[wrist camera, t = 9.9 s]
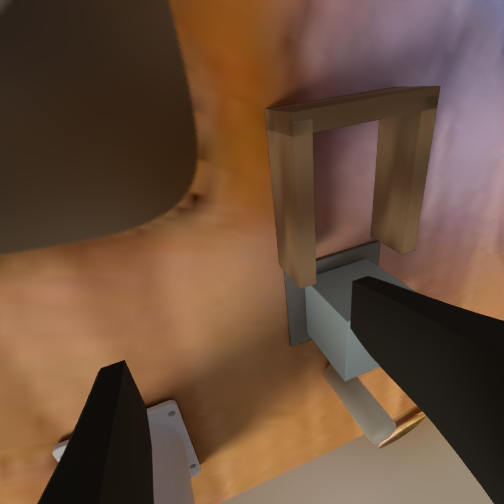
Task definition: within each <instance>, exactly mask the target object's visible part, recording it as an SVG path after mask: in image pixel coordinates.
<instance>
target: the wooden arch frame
mask: <svg viewBox="0 0 504 504" xmlns="http://www.w3.org/2000/svg"><path fill="white" fill-rule="evenodd" d="M439 92H440V86H418V87H392V88H387V89H381V90H375V91H369V92H363V93H357V94H352V95H346V96H340V97H334V98H328V99H322V100H317V101H311V102H305V103H299V104H293V105H287V106H282V107H276V108H270V109H265V116H266V127H267V137H268V148H269V159H270V170H271V181H272V192H273V203H274V214H275V225H276V236H277V246H278V257H279V265H280V266H281V267H282V269H283V270H284V271H285V272H286V273H287V274H288V275H289V276H290V277H291V278H292V279H293V281H294V282H295V283H296V284H297V285H298V286H299V287H300V288H301V289H302V288H305V287H308V286H311V285H314V284H316V248H315V206H314V164H313V133H315V132H320V131H325V130H330V129H335V128H340V127H345V126H350V125H355V124H360V123H365V122H370V121H375V120H379V132H378V146H377V159H376V173H375V187H374V200H373V214H372V227H371V237H373V238H374V239H376V240H378V241H379V242H381V243H383V244H385V245H386V246H388V247H390V248H392V249H393V250H395V251H397V252H398V253H400V254H402V255H403V254H406V253H409V252H412V251H415V246H416V240H417V234H418V227H419V221H420V214H421V208H422V201H423V195H424V188H425V182H426V176H427V169H428V163H429V156H430V150H431V143H432V137H433V130H434V124H435V118H436V111H437V105H438V98H439Z"/></svg>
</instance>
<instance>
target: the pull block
mask: <svg viewBox="0 0 504 504" xmlns="http://www.w3.org/2000/svg"><path fill="white" fill-rule="evenodd" d="M366 276H371V277H374V278H377V279H380V280H383V281H386V282H389V283H392V284H394V285H397V286H400V287H403V288H405V289H408V290H411V291H413V290H412V289H410V288H409V287H408V286H406V285H405V284H403V283H402V282H400V281H399V280H397V279H396V278H394V277H393V276H391V275H390V274H388V273H387V272H385V271H384V270H383V269H381V268H380V267H378V266H377V265H375V264H374V263H372V262H371V261H369V260H368V259H363V260H360V261H357V262H354V263H351V264H348V265H345V266H342V267H339V268H336V269H333V270H330V271H327V272H324V273H321V274H318V275H316V284H314V285H311V286H308V287H305V297H306V319H307V333H308V335H309V336H310V337H311V339H312V340H313V341H314V342H315V344H316V345H317V346H318V348H319V349H320V350H321V351H322V353H323V354H324V355H325V357H326V358H327V359H328V361H329V362H330V363H331V364H330V365H329V366H328V367H327V368H326V369H325V371H324V377H325V379H326V380H327V382H328V383H329V384H330V386H331V387H332V389H333V390H334V391H335V393H336V394H337V396H338V397H339V398H340V400H341V401H342V403H343V404H344V405H345V407H346V408H347V410H348V411H349V412H350V414H351V415H352V417H353V418H354V420H355V421H356V422H357V424H358V425H359V427H360V428H361V429H362V431H363V432H364V434H365V435H366V436H367V438H368V439H369V440H370V442H371V443H372V444H378V443H381V442H383V441H384V440H386V439H387V438H388V437H390V436H391V435H392V433H393V432H394V431H395V428H396V423H395V422H394V421H393V420H392V418H391V417H390V416H389V415H388V414H387V412H386V411H385V410H384V409H383V408H382V406H381V405H380V404H379V403H378V402H377V400H376V399H375V398H374V397H373V396H372V394H371V393H370V392H369V391H368V390H367V388H366V387H365V386H364V385H363V383H362V382H361V381H360V380H359V379H358V377H357V376H359V375H361V374H363V373H366V372H368V371H370V370H373V369H375V368H377V367H379V364H378V363H377V362H376V361H375V360H374V359H373V358H372V357H371V356H370V355H369V353H368V352H367V351H366V350H365V348H364V347H363V346H362V344H361V343H360V342H359V340H358V339H357V337H356V336H355V334H354V333H353V332H352V330H351V329H350V320H351V297H352V281H354V280H357V279H360V278H363V277H366ZM414 292H415V291H414Z"/></svg>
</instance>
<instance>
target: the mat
mask: <svg viewBox="0 0 504 504" xmlns="http://www.w3.org/2000/svg"><path fill="white" fill-rule="evenodd" d="M379 250H380V242H379V241H378V240H377V241H374V242H371V243H368V244H365V245H361V246H358V247H355V248H352V249H349V250H346V251H342V252H339V253H336V254H333V255H330V256H327V257H323V258H320V259H317V260H316V275H318V274H321V273H324V272H327V271H330V270H333V269H336V268H339V267H342V266H345V265H348V264H351V263H354V262H357V261H360V260H363V259H368V260H369V261H371V262H372V263H374V264H375V265H377V266H378V261H379ZM284 278H285V289H286V301H287V313H288V325H289V337H290V346H291V347H293V346H296V345H298V344H301V343H303V342H306V341H308V340H311V337H310V336H309V335H308V333H307V319H306V297H305V288H302V289H301V288H300V287H299V286H298V285H297V284H296V283H295V282H294V281H293V279H292V278H291V277H290V276H289V275H288V274H287V273H286V272H285V271H284Z"/></svg>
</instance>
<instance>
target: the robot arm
mask: <svg viewBox="0 0 504 504" xmlns="http://www.w3.org/2000/svg"><path fill="white" fill-rule="evenodd" d="M350 329H351V330H352V332H353V333H354V334H355V336H356V337H357V339H358V340H359V342H360V343H361V344H362V346H363V347H364V348H365V350H366V351H367V352H368V353H369V355H370V356H371V357H372V358H373V359H374V360H375V361H376V362H377V363H378V364H379V366H380V367H381V368H382V369H383V370H384V371H385V372H386V373H387V374H388V375H389V376H390V377H391V378H392V379H393V380H394V382H395V383H396V384H397V385H398V386H399V387H400V388H401V389H402V390H403V391H404V392H405V393H406V394H407V395H408V396H409V397H410V398H411V400H412V401H413V402H414V403H415V404H416V405H417V406H418V407H419V408H420V409H421V410H422V411H423V412H424V414H425V415H426V416H427V417H428V418H429V419H430V420H431V421H432V423H433V424H434V425H435V426H436V427H437V429H438V430H439V431H440V433H441V434H442V435H443V436H444V438H445V439H446V440H447V441H448V443H449V444H450V445H451V447H452V448H453V449H454V450H455V451H456V453H457V454H458V455H459V456H460V458H461V459H462V461H463V462H464V463H465V465H466V466H467V467H468V469H469V470H470V471H471V473H472V474H473V475H474V477H475V478H476V479H477V481H478V482H479V483H480V484H481V486H482V487H483V489H484V490H485V492H486V493H487V494H488V496H489V497H490V499H491V500H492V501H493V503H494V504H504V321H503V320H499V319H496V318H492V317H488V316H485V315H482V314H479V313H475V312H472V311H469V310H466V309H463V308H460V307H457V306H453V305H450V304H447V303H445V302H442V301H439V300H436V299H433V298H430V297H427V296H425V295H422V294H419V293H416V292H414V291H411V290H408V289H405V288H403V287H400V286H397V285H394V284H392V283H389V282H386V281H383V280H380V279H377V278H374V277H371V276H366V277H363V278H360V279H357V280H354V281H352V297H351V320H350ZM53 456H54V457H55V458H56V460H57V461H58V462H59V463H58V465H57V467H56V469H55V470H54V472H53V474H52V476H51V478H50V480H49V482H48V484H47V486H46V488H45V490H44V492H43V494H42V496H41V498H40V500H39V502H38V504H195V501H194V495H193V490H192V484H191V479H190V478H192V477H194V476H196V475H198V474H199V473H200V472H201V467H200V464H199V461H198V459H197V456H196V453H195V451H194V448H193V445H192V443H191V440H190V437H189V435H188V432H187V429H186V427H185V424H184V422H183V419H182V416H181V414H180V411H179V408H178V406H177V403H176V401H174V400H168V401H166V402H163V403H160V404H158V405H155V406H153V407H150V408H148V409H147V408H146V406H145V403H144V401H143V399H142V397H141V395H140V392H139V390H138V388H137V386H136V384H135V382H134V379H133V377H132V375H131V373H130V371H129V368H128V366H127V364H126V362H125V360H123V361H120V362H118V363H115V364H112V365H109V366H106V367H103V368H101V369H100V371H99V372H98V374H97V377H96V379H95V382H94V384H93V387H92V389H91V392H90V394H89V396H88V399H87V401H86V404H85V406H84V408H83V410H82V413H81V415H80V417H79V420H78V422H77V424H76V426H75V429H74V431H73V433H72V435H71V437H70V439H68V440H66V441H63V442H61V443H59V444H57V445H56V446H55V447H54V449H53Z"/></svg>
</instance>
